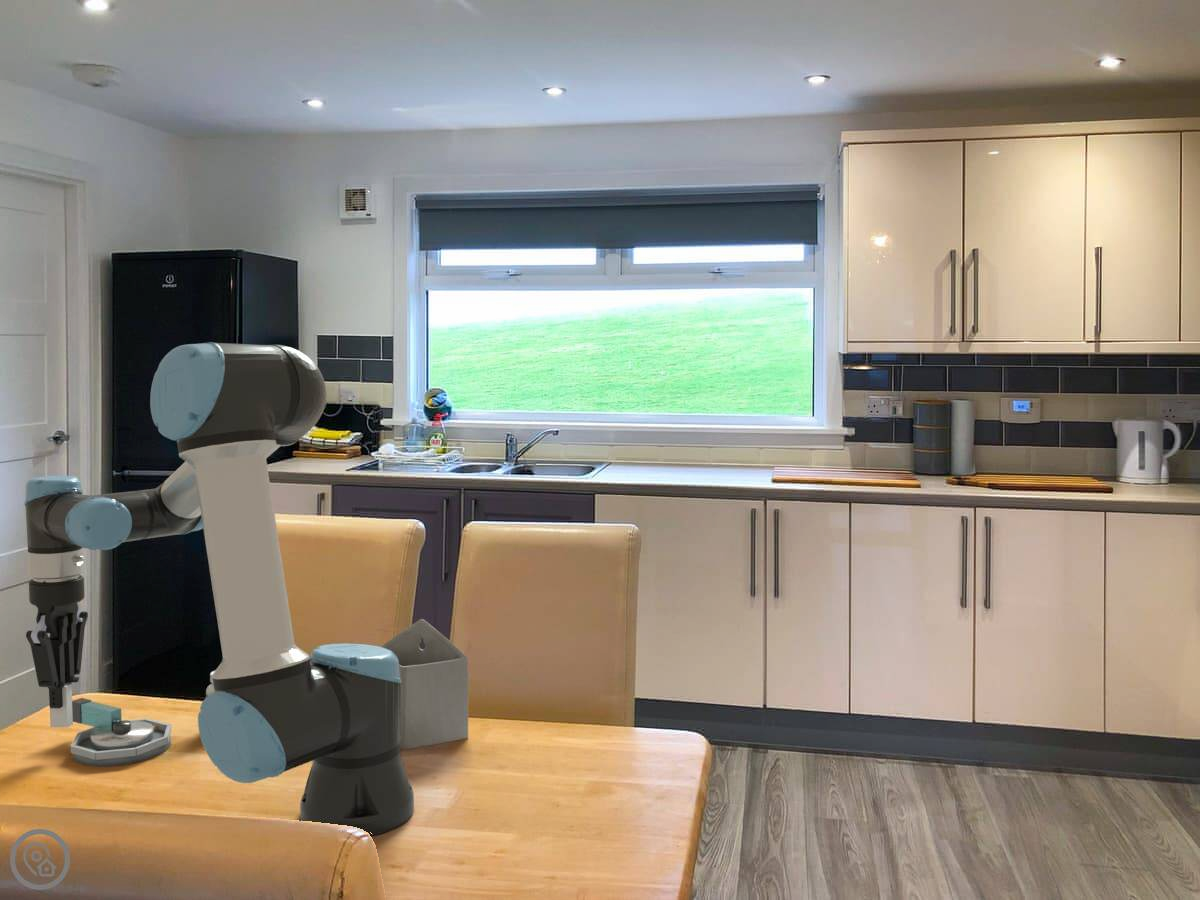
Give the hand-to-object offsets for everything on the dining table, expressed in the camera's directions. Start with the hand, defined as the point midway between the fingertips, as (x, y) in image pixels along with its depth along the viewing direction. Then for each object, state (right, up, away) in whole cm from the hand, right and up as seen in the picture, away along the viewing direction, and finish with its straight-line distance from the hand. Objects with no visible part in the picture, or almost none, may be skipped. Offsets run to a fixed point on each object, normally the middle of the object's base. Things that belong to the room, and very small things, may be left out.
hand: (61, 725), depth 158 cm
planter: (+53, -5, +7) cm, 54 cm away
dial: (+5, -3, +4) cm, 7 cm away
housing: (+8, -5, +3) cm, 10 cm away
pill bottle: (+21, -4, +12) cm, 24 cm away
